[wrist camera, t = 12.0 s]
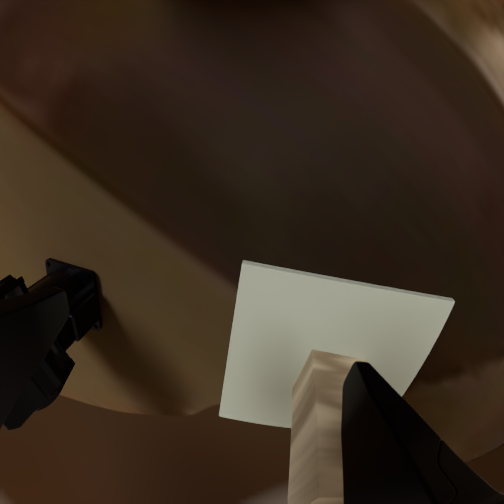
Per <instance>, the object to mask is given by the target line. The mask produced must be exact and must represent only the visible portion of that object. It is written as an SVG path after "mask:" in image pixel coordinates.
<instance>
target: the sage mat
mask: <svg viewBox="0 0 504 504" xmlns="http://www.w3.org/2000/svg"><path fill="white" fill-rule="evenodd" d="M454 303H455V301H454V300H453V299H452V298H447V297H442V296H436V295H430V294H424V293H419V292H413V291H407V290H402V289H396V288H390V287H385V286H379V285H374V284H368V283H363V282H357V281H352V280H346V279H341V278H335V277H330V276H325V275H319V274H314V273H308V272H303V271H298V270H292V269H287V268H282V267H277V266H271V265H266V264H261V263H256V262H250V261H245V260H243V262H242V267H241V273H240V280H239V286H238V293H237V299H236V306H235V312H234V319H233V325H232V332H231V338H230V345H229V351H228V358H227V365H226V371H225V378H224V385H223V392H222V398H221V405H220V413H219V416H221V417H225V418H230V419H235V420H241V421H246V422H252V423H258V424H264V425H271V426H278V427H286V428H291V422H292V388H293V386H294V384H295V382H296V380H297V378H298V376H299V374H300V372H301V370H302V368H303V366H304V364H305V362H306V360H307V358H308V356H309V354H310V352H311V350H312V349H314V350H319V351H324V352H329V353H334V354H339V355H344V356H349V357H354V358H360V359H365V360H366V362H368V363H370V364H371V365H372V366H373V367H374V368H375V369H376V371H377V372H378V373H379V374H380V375H381V376H382V377H383V378H384V379H385V380H386V381H387V382H388V383H389V384H390V385H391V386H392V387H393V388H394V389H395V390H396V392H397V393H398V394H399V395H400V396H401V397H402V396H403V394H404V393H405V391H406V390H407V388H408V387H409V385H410V384H411V382H412V381H413V379H414V378H415V376H416V374H417V373H418V371H419V370H420V368H421V366H422V365H423V363H424V361H425V359H426V358H427V356H428V354H429V352H430V351H431V349H432V347H433V345H434V343H435V342H436V340H437V338H438V336H439V334H440V332H441V330H442V328H443V326H444V324H445V322H446V320H447V318H448V316H449V314H450V312H451V310H452V307H453V305H454Z"/></svg>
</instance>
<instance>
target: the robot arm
mask: <svg viewBox="0 0 504 504" xmlns="http://www.w3.org/2000/svg"><path fill="white" fill-rule="evenodd" d="M45 263H46V270H47V275H46V276H45V277H43V278H42V279H40V280H39V281H37V282H36V283H34V284H33V285H32V286H30V287H29V288H27V287H26V285H25V283H24V282H25V281H24V279H23V277H22V276H21V277H20V278H18V279H15V278H14V277H12V276H11V275H8V276H7V277H5V278H4V279H2V280H1V281H0V429H1V427H2V425H4V426H5V427H6V429H8V430H11V429H16V428H19V427H21V426H22V424H23V423H24V422H25V421H26V420H27V419H28V417H29V416H30V415H31V414H32V413H33V412H35V411H37V410H41V409H44V408H45V407H47V406H48V405H50V404H51V403H52V402H53V401H54V400H55V399H56V398H57V397H58V395H59V394H60V392H61V390H62V388H63V386H64V384H65V382H66V380H67V378H68V376H69V375H70V373H71V371H72V369H73V367H74V365H75V362H74V361H73V360H72V358H70V357H69V356H68V354H67V353H66V350H67V349H68V348H69V347H70V346H71V345H72V344H73V342H74V341H77V342H78V341H79V340H80V339H81V338H82V337H83V336H84V335H85V334H86V333H87V332H88V331H89V330H90V329H94V330H97V331H99V330H100V329H101V328H102V322H101V314H100V307H99V299H98V292H97V282H96V275H95V273H94V272H93V271H92V270H88V269H85V268H81V267H78V266H75V265H71V264H68V263H65V262H61V261H58V260H55V259H52V258H49V259H47V260H46V262H45ZM90 276H91V277H90ZM341 445H342V464H343V501H344V504H504V495H503V494H501V493H499V492H498V491H496V490H495V489H494V488H493V487H491V486H490V485H489V484H488V483H487V482H486V481H485V480H484V479H482V478H481V477H480V476H479V475H478V474H476V473H475V472H474V471H473V470H472V469H471V468H470V467H469V466H468V465H467V464H465V463H464V462H463V461H462V460H461V459H460V458H459V457H458V456H457V455H456V454H455V453H454V452H453V451H452V450H451V449H450V448H449V447H448V446H447V445H446V443H445V442H444V441H443V440H441V438H440V437H439V436H438V435H437V434H436V433H435V432H434V431H433V430H432V429H431V428H430V426H429V425H428V424H427V423H426V422H425V421H424V420H423V419H422V418H421V417H420V416H419V415H418V414H417V413H416V412H415V411H414V410H413V408H412V407H411V406H410V405H409V404H408V403H407V402H406V401H405V400H404V399H403V398H402V397H401V396H400V395H399V394H398V393H397V392H396V390H395V389H394V388H393V387H392V386H391V385H390V384H389V383H388V382H387V381H386V380H385V379H384V378H383V377H382V376H381V375H380V374H379V373H378V372H377V371H376V369H375V368H374V367H373V366H372V365H371V364H370V363H368V362H362V361H356V362H354V363H353V365H352V367H351V369H350V371H349V373H348V375H347V376H346V378H345V380H344V383H343V391H342V418H341Z"/></svg>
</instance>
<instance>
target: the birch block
mask: <svg viewBox="0 0 504 504" xmlns="http://www.w3.org/2000/svg"><path fill="white" fill-rule="evenodd" d="M356 361H362V362H366V360H365V359H360V358H354V357H349V356H344V355H339V354H334V353H329V352H324V351H319V350H314V349H312V350H311V352H310V354H309V356H308V358H307V360H306V362H305V364H304V366H303V368H302V370H301V372H300V374H299V376H298V378H297V380H296V382H295V384H294V386H293V388H292V422H291V450H290V470H289V487H288V503H287V504H344V501H343V464H342V445H341V418H342V391H343V383H344V380H345V378H346V376H347V375H348V373H349V371H350V369H351V367H352V365H353V363H354V362H356Z"/></svg>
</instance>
